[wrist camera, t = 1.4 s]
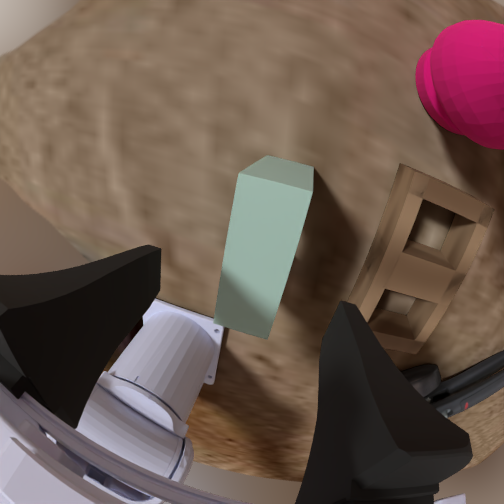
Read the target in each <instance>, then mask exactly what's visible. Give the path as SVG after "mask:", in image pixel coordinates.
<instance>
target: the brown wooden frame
mask: <svg viewBox="0 0 504 504" xmlns="http://www.w3.org/2000/svg"><path fill="white" fill-rule="evenodd" d="M423 199H425V200H427V201H430V202H432V203H434V204H437V205H439V206H441V207H444V208H446V209H448V210H450V211H453V212H455V213H456V214H455V217H454V219H453V222H452V224H451V227H450V229H449V232H448V234H447V236H446V239H445V241H444V243H443V246H442V248H441V250H440V251H439V250H436V249H434V248H431V247H428V246H425V245H423V244H420V243H417V242H414V241H411V240H409V239H408V237H409V234H410V232H411V229H412V227H413V224H414V221H415V219H416V216H417V214H418V211H419V208H420V205H421V202H422V200H423ZM493 212H494V209H493V208H491V207H490V206H488V205H486V204H485V203H483V202H482V201H480V200H478V199H477V198H475V197H473V196H471V195H469V194H467V193H465V192H463V191H461V190H459V189H457V188H455V187H453V186H451V185H449V184H447V183H445V182H443V181H441V180H438V179H436V178H434V177H432V176H430V175H427V174H425V173H423V172H420V171H418V170H416V169H413V168H411V167H408V166H406V165H403V164H401V163H400V164H399V168H398V171H397V174H396V178H395V181H394V184H393V187H392V190H391V193H390V196H389V199H388V202H387V205H386V208H385V211H384V214H383V216H382V219H381V222H380V225H379V227H378V230H377V233H376V235H375V238H374V240H373V243H372V246H371V248H370V251H369V253H368V255H367V258H366V260H365V263H364V265H363V268H362V270H361V272H360V275H359V277H358V279H357V281H356V284H355V286H354V288H353V290H352V293H351V295H350V297H349V299H348V301H347V302H349V303H352V304H356V306H357V307H358V309H359V310H360V312H361V313H362V315H363V317H364V318H365V320H366V322H367V323H368V325H369V327H370V328H371V330H372V331H373V333H374V335H375V336H376V338H377V339H378V341H379V343H380V344H381V346H382V347H383V348H386V349H391V350H396V351H401V352H406V353H411V354H417V353H418V352H419V350H420V349H421V347H422V346H423V345H424V343H425V342H426V340H427V339H428V337H429V336H430V334H431V333H432V332H433V330H434V328H435V327H436V325H437V324H438V322H439V321H440V319H441V318H442V316H443V314H444V313H445V311H446V309H447V308H448V306H449V304H450V303H451V301H452V299H453V298H454V296H455V294H456V292H457V291H458V289H459V287H460V285H461V283H462V281H463V279H464V277H465V276H466V274H467V272H468V270H469V268H470V266H471V264H472V262H473V259H474V257H475V255H476V253H477V251H478V249H479V246H480V244H481V242H482V240H483V237H484V235H485V232H486V230H487V227H488V225H489V222H490V220H491V217H492V214H493ZM385 289H388V290H392V291H395V292H399V293H402V294H406V295H409V296H413V297H417V298H416V300H415V302H414V304H413V305H412V307H411V309H410V311H409V312H408V314H407V316H406V315H402V314H398V313H394V312H390V311H386V310H383V309H379V308H375V307H376V305H377V303H378V302H379V300H380V298H381V296H382V294H383V292H384V290H385Z"/></svg>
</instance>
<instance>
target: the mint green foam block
mask: <svg viewBox="0 0 504 504" xmlns="http://www.w3.org/2000/svg"><path fill="white" fill-rule="evenodd" d="M313 175H314V167H312V166H308V165H305V164H301V163H297V162H293V161H289V160H285V159H281V158H277V157H273V156H269V155H267V156H265V157H264V158H262V159H260V160H259V161H257V162H255V163H254V164H252V165H251V166H249V167H247V168H246V169H244V170H243V171H241V172H240V173H239V175H238V180H237V185H236V191H235V196H234V201H233V207H232V212H231V218H230V224H229V229H228V235H227V241H226V247H225V253H224V258H223V264H222V270H221V277H220V283H219V289H218V295H217V302H216V308H215V315H214V321H213V323H214V324H217V325H220V326H223V327H227V328H230V329H233V330H236V331H240V332H243V333H246V334H250V335H253V336H256V337H260V338H263V339H268V337H269V334H270V331H271V328H272V325H273V322H274V319H275V316H276V313H277V310H278V306H279V303H280V300H281V297H282V294H283V291H284V288H285V285H286V281H287V278H288V275H289V272H290V269H291V265H292V262H293V259H294V256H295V252H296V249H297V246H298V242H299V239H300V235H301V232H302V229H303V225H304V222H305V218H306V215H307V211H308V208H309V204H310V200H311V197H312V193H313Z"/></svg>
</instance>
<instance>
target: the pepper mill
mask: <svg viewBox="0 0 504 504" xmlns="http://www.w3.org/2000/svg"><path fill="white" fill-rule="evenodd" d="M416 86H417V90H418V94H419V97H420V99H421V101H422V104H423V105H424V107H425V109H426V110H427V112H428V113H429V115H430V116H431V117H432V118H433V119H434V120H435V121H436V122H437V123H438V124H439V125H440V126H442V127H443V128H445V129H446V130H448V131H450V132H453V133H455V134H460V135H466V136H467V137H468V138H469V139H471V140H472V141H474V142H476V143H478V144H480V145H482V146H484V147H487V148H491V149H500V150H504V25H502V24H498V23H494V22H490V21H485V20H465V21H462V22H459V23H456V24H454V25H451V26H449V27H447V28H446V29H444V30H443V31H442V32H441V33H440V34H439V35H438V37H437V38H436V40H435V42H434V45H433V47H432V48H430V49H428V50H427V51H426V52H425V53H424V54H423V55H422V56H421V57H420V59H419V61H418V64H417V67H416Z"/></svg>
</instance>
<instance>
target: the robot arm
mask: <svg viewBox="0 0 504 504" xmlns="http://www.w3.org/2000/svg"><path fill="white" fill-rule="evenodd" d="M160 278H161V248H158V247H155V246H151V245H145V246H141V247H137V248H134V249H131V250H128V251H125V252H122V253H119V254H116V255H113V256H110V257H107V258H104V259H101V260H98V261H94V262H91V263H88V264H85V265H81V266H78V267H73V268H69V269H65V270H59V271H53V272H47V273H39V274H29V275H0V504H163V503H164V502H165V501H166V502H169V503H171V504H252V503H247V502H242V501H238V500H233V499H230V498H226V497H222V496H219V495H215V494H212V493H208V492H205V491H201V490H199V489H196V488H192V487H190V486H187V485H184V484H183V483H184V481H185V479H186V477H187V475H188V473H189V471H190V469H191V466H192V462H193V458H194V450H193V447H192V442H191V440H190V439H189V438H187V437H185V434H186V432H187V430H188V428H189V426H188V425H187V424H185V422H186V421H187V419H188V416H189V414H190V412H191V410H192V408H193V405H194V403H195V401H196V399H197V397H198V394H199V392H200V390H201V388H202V385H203V383H207V384H210V385H212V384H213V383H214V381H215V376H216V370H217V365H218V359H219V354H220V348H221V343H222V338H223V332H224V327H223V326H220V325H217V324H214V323H213V321H214V319H213V318H210V317H207V316H204V315H201V314H198V313H195V312H192V311H189V310H186V309H183V308H180V307H177V306H175V305H172V304H169V303H166V302H164V301H161V300H158V299H156V296H157V295H158V293H159V291H160ZM142 316H143V324H144V326H143V327H142V328H141V330H140V331H139V332H138V333H137V335H136V336H135V337H134V339H133V340H132V341H131V342H130V344H129V345H128V346H127V348H126V349H125V350H124V352H123V353H122V354H121V355H120V357H119V358H118V359H117V361H116V362H115V363H114V365H113V366H112V367H111V369H110V370H109V371H108V373H107V372H106V371H104V372H103V373H102V371H103V370H104V368H105V366H106V365H107V363H108V361H109V360H110V358H111V356H112V355H113V353H114V351H115V350H116V349H117V347H118V346H119V344H120V343H121V342H122V341H123V339H124V338H125V337H126V336H127V335H128V333H129V332H130V331H131V330H132V328H133V327H134V326H135V325H136V324H137V322H138V321H139V320H140V319H141V318H142ZM216 329H218V330H219V331H218V330H216ZM101 373H102V375H101ZM100 375H101V376H100ZM472 457H473V454H472V448H471V443H470V438H469V434H468V433H467V432H465V431H464V430H463V429H461V428H460V427H458V426H457V425H456V424H454V423H453V422H451V421H450V420H449V419H447V418H446V417H445V416H444V415H442V414H441V413H440V412H439V411H438V410H436V409H435V408H434V407H433V406H432V405H431V404H430V403H429V402H428V401H427V400H426V399H425V398H424V397H423V396H422V395H421V394H420V393H419V392H418V391H417V390H416V389H415V388H414V387H413V386H412V385H411V384H410V383H409V382H408V380H407V379H406V378H405V377H404V375H403V374H402V373H401V372H400V371H399V369H398V368H397V367H396V366H395V364H394V363H393V362H392V360H391V359H390V357H389V356H388V354H387V353H386V352H385V350H384V349H383V347H382V346H381V344H380V343H379V341H378V339H377V338H376V336H375V335H374V333H373V331H372V330H371V328H370V327H369V325H368V323H367V322H366V320H365V318H364V317H363V315H362V313H361V312H360V310H359V309H358V307H357V306H356V304H352V303H349V302H345V301H340V303H339V305H338V307H337V310H336V312H335V314H334V316H333V318H332V320H331V322H330V324H329V326H328V329H327V331H326V333H325V335H324V337H323V339H322V345H321V352H320V359H319V390H318V412H317V421H316V426H315V432H314V437H313V442H312V447H311V451H310V455H309V460H308V463H307V467H306V471H305V474H304V478H303V481H302V485H301V488H300V491H299V494H298V497H297V499H296V502H295V504H466V497H465V494H464V493H462V494H459V495H455V496H450V497H446V498H442V499H439V500H436V501H434V496H433V494H436V493H438V491H439V482H441V481H443V480H445V479H447V478H448V477H450V476H452V475H453V474H455V473H457V472H458V471H460V470H461V469H463V468H464V467H465V466H466V465H467V464H468V463H469V462H470V461H471V459H472Z"/></svg>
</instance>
